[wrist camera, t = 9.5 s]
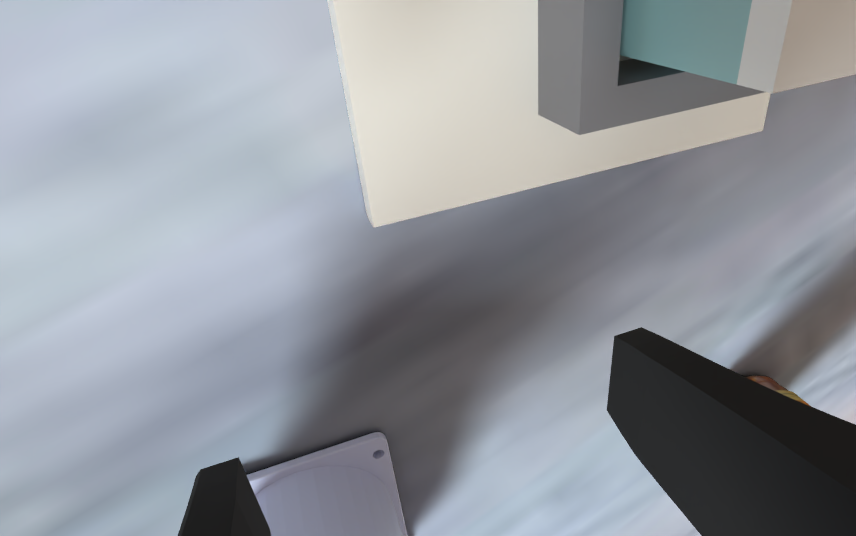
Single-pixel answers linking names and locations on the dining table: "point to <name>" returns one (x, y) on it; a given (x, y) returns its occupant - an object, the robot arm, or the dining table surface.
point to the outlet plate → (510, 99)
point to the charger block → (745, 39)
